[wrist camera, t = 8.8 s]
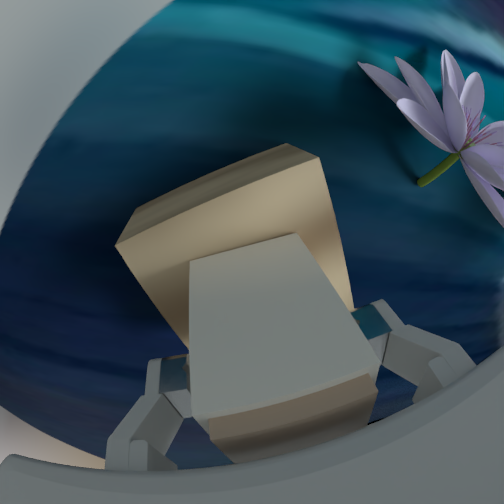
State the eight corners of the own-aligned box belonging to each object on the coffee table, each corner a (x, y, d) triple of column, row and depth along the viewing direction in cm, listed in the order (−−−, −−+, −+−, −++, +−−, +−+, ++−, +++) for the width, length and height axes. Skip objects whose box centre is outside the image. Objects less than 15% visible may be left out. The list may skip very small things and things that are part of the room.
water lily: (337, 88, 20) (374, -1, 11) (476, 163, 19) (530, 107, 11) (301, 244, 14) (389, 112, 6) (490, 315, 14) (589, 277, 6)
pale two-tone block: (306, 311, 14) (366, 442, 8) (219, 335, 14) (241, 478, 8) (296, 232, 12) (391, 380, 5) (189, 261, 12) (193, 437, 5)
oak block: (323, 268, 19) (354, 313, 15) (203, 316, 20) (207, 371, 15) (284, 142, 15) (318, 157, 11) (137, 206, 15) (114, 245, 11)
